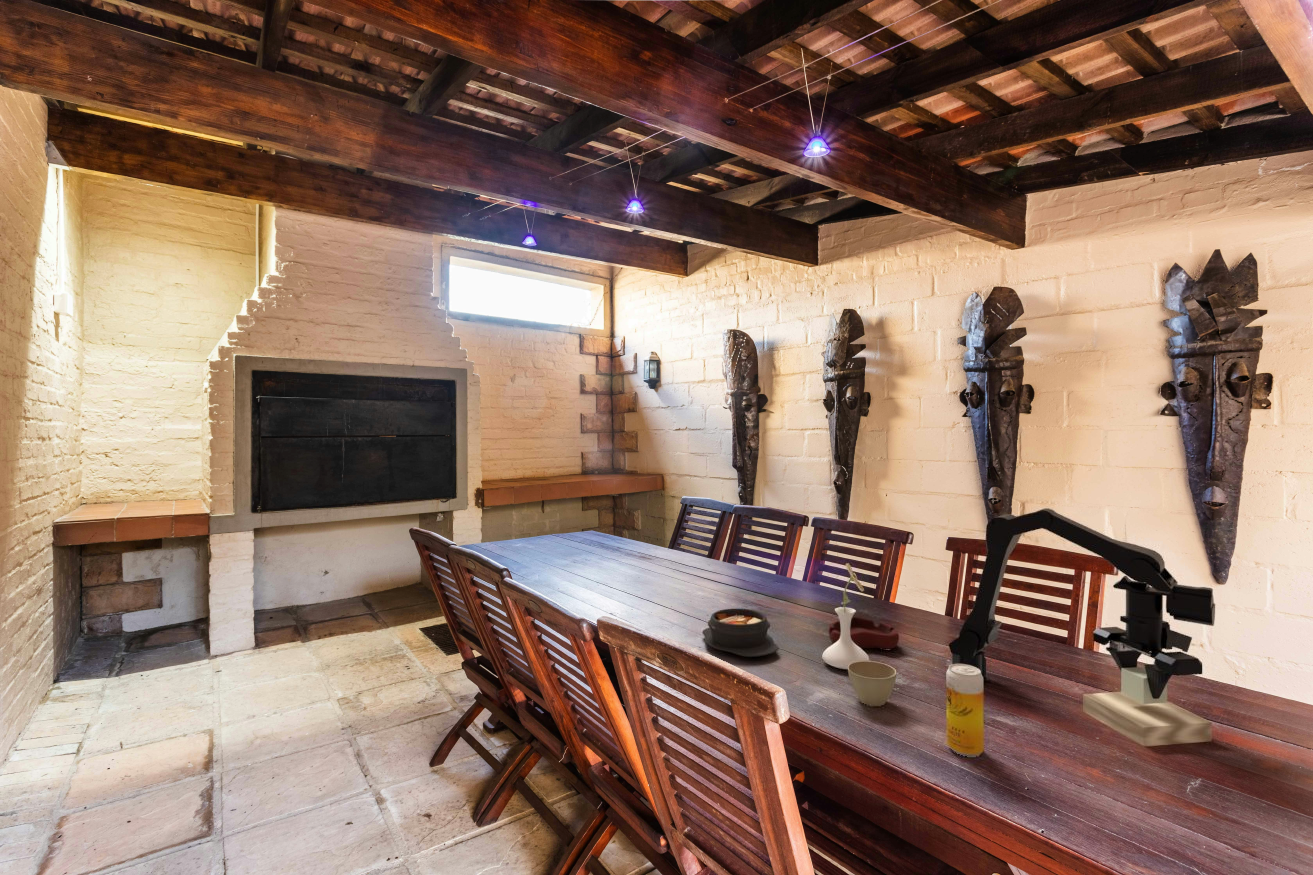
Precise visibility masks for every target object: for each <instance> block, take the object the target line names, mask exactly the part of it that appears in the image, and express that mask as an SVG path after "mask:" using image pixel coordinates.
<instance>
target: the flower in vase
mask: <svg viewBox="0 0 1313 875" xmlns="http://www.w3.org/2000/svg"><path fill="white" fill-rule="evenodd" d="M845 567H846V569H847V571H848V573H849V575H850V576H849V579H848V581H847V583H846V585H845V587H844V588H845V589H844V590H843V601H841V602H840V605H841V604H842V605H843V607H841V606H839V607H837V608H836V607H835V608H834V612H835V613H836V614H837V616H838V619H839V621H840V625H841V636H840V639H839V640H838V641H837V642H836V643H833V644H831V645H830V646H828V647H827V648H826V649H825V650H824V651H823V653H822V654H821V655H822V656H821V657H822V659H823V661H824V662H825V663H826V664H827V665H830V666H832V667H834V668H838V669H841V670H842V669H843V670H848V665H849V664H851V663H853V662H857V661H871V660H870V657H869V655H868V653H867V652H865V651H864V650H863V648H860V647H858V646H857V645H856V644H855V643H854V642H853V641H852V640H851V636H850V624H851V619H852V617H854V615H855V613H856V612H857V610H856V609H854V608H852V607H846V604H848V603H850V602H852V600H850V599H849V598H848V595H847V592H846V591H847V588H848V586H849V584H850V582H854V583H855V585H856V587H857V588H858V589H859V590H860V591H861V592H864V591H865V589H864V587H863V585H862V583H861V582H860V581H859V580H858V576H857V575H856V573H855V572H854V571H853V568H852V565H850V563H849V562H848V563H845Z"/></svg>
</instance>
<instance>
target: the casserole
mask: <svg viewBox="0 0 1313 875" xmlns="http://www.w3.org/2000/svg"><path fill="white" fill-rule="evenodd" d="M707 626H708V627H707V628H705V629H703V630H702V635H703V636H704V642H705V643H706V644H707V645H708V646H709V647H711V648H713V649H715V650H719V651H724V652H726V651H727V653H730V652H731V653H732V654H734V655H736V656H740V657H744V658H745V657H746V658H747V657H748V658H751V657H752V658H753V657H762V656H767V655H771V654H773V653H776V652H777V651H779V648H780V647H779V646H778V645H777V644H776V643H775V642H774V639H773V637H772V636H771V635H770V634H768V631H769V630H770V628H771V623H770V622H769V621H768V618H767V616H766V615H765V614H764V613H763V612H760V611H758V610H754V609H749V608H748V609H747V608H727V609H726V608H725V609H720V610H717V611H715V612H713V613H712V614H711V616H710V618H709V620H708V621H707Z"/></svg>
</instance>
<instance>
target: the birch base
mask: <svg viewBox="0 0 1313 875" xmlns="http://www.w3.org/2000/svg"><path fill="white" fill-rule="evenodd" d="M1083 712H1084V713H1085V714H1087V715H1088V716H1090V717H1092V718H1094V719H1095V720H1097V721H1099V722H1101V723H1103V725H1106V726H1107V727H1109V728H1111V729H1113V730H1115V731H1117V732H1118V733H1120V734H1122V735H1123V736H1125V737H1127V738H1128V739H1130V740H1132V741H1133V742H1135V743H1137V744H1138V745H1140V746H1142V747H1154V746H1168V745H1179V744H1192V743H1204V742H1205V743H1206V742H1212V738H1213V736H1212V735H1213V734H1212V728H1213V724H1212V721H1210V720H1207V719H1206V718H1204V717H1201V716H1199V715H1197V714H1195V713H1193V712H1191V711H1189V710H1187V709H1184V708H1182V707H1180V706H1179V705H1177V704H1175V703H1172V702H1170V701H1168V700H1167V703H1153V704H1142V703H1140V702H1138V701H1136V700H1134V699H1132V698H1130V697H1128V696H1126V695H1124V694H1123V693H1121V691H1113V692H1099V693H1098V692H1097V693H1095V692H1094V693H1086V694H1085V693H1084V694H1083V695H1082V713H1083Z"/></svg>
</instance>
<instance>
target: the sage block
mask: <svg viewBox="0 0 1313 875" xmlns="http://www.w3.org/2000/svg"><path fill="white" fill-rule="evenodd" d="M1120 673H1121V674H1120V677H1121V678H1120V679H1121V680H1120V681H1121V682H1120V683H1121V685H1120V686H1121V687H1120V689H1121V690H1120V692H1121V693H1123V694H1124V695H1126V696H1128V697H1130V698H1132V699H1134V700H1136V701H1138V702H1140V703H1142V704H1153V703H1167V701H1168V683H1167V684H1166V686H1165V688H1164V690H1163V692H1162V694H1161V696H1160V698H1159V699H1154V698H1153V697H1152V694H1151V692H1150V688H1149V683H1148V679H1147V674H1146V670H1145V666H1137V667H1133V668H1121V671H1120Z"/></svg>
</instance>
